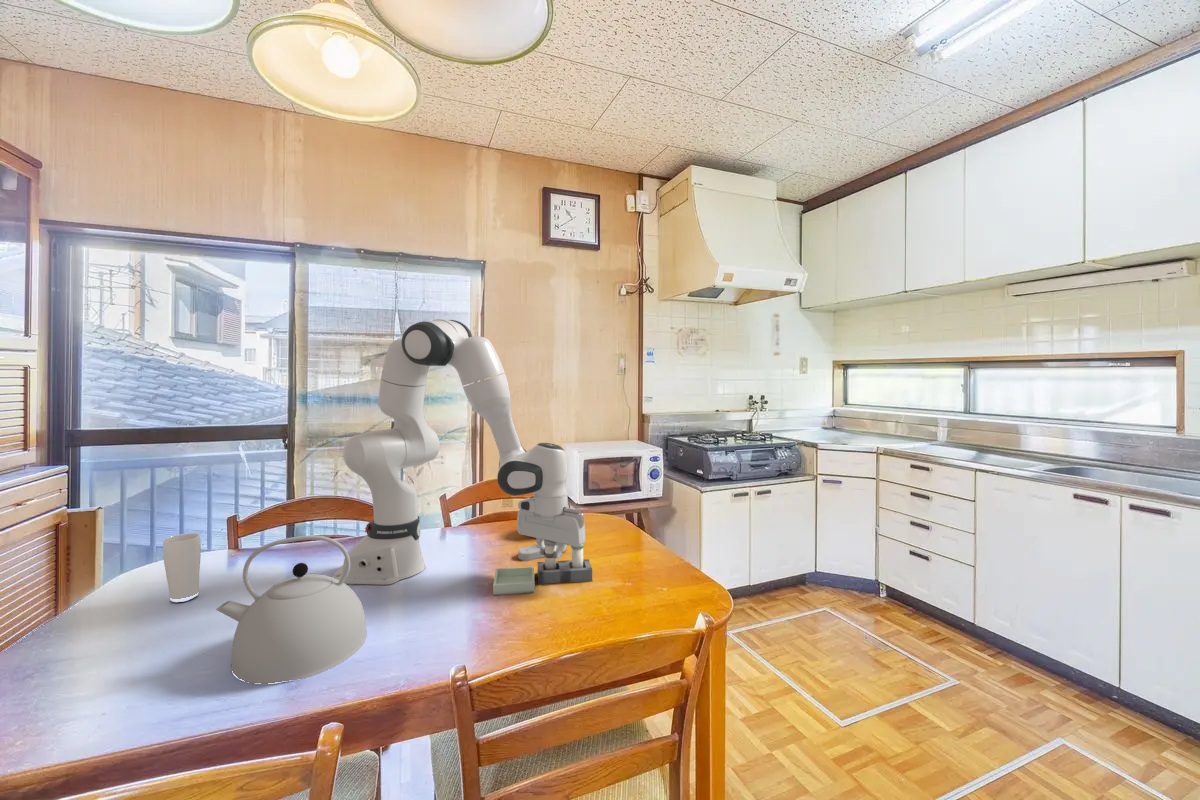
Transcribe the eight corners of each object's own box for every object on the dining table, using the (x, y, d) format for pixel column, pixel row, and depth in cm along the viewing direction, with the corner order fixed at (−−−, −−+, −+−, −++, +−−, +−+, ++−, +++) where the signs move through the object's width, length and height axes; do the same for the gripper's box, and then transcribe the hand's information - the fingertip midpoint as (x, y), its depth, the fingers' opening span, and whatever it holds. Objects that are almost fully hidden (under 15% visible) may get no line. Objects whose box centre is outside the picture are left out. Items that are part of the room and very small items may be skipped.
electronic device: (514, 525, 142) (560, 516, 150) (515, 557, 143) (561, 546, 151) (521, 530, 138) (568, 520, 145) (522, 563, 139) (569, 552, 146)
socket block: (538, 584, 124) (538, 572, 124) (537, 572, 131) (537, 562, 131) (592, 580, 126) (592, 569, 126) (588, 569, 133) (588, 559, 133)
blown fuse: (544, 575, 126) (544, 542, 126) (544, 570, 130) (544, 537, 129) (557, 575, 127) (557, 541, 126) (556, 569, 130) (556, 537, 130)
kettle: (194, 702, 80) (188, 569, 78) (237, 633, 101) (232, 527, 99) (362, 667, 89) (359, 548, 88) (369, 611, 110) (367, 514, 109)
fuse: (571, 579, 127) (571, 545, 127) (570, 573, 130) (570, 541, 130) (584, 578, 128) (584, 544, 127) (583, 572, 131) (583, 540, 130)
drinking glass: (209, 595, 117) (206, 535, 116) (175, 608, 111) (171, 544, 110) (193, 590, 120) (190, 531, 119) (159, 602, 114) (156, 539, 113)
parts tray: (493, 595, 118) (493, 585, 118) (495, 577, 128) (495, 568, 128) (534, 592, 119) (534, 582, 119) (533, 575, 129) (533, 566, 129)
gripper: (590, 507, 125) (590, 560, 125) (528, 496, 135) (528, 544, 136) (577, 513, 119) (576, 568, 120) (513, 501, 129) (513, 552, 130)
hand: (550, 555), depth 128 cm, fingers closed on blown fuse, 3 cm apart
